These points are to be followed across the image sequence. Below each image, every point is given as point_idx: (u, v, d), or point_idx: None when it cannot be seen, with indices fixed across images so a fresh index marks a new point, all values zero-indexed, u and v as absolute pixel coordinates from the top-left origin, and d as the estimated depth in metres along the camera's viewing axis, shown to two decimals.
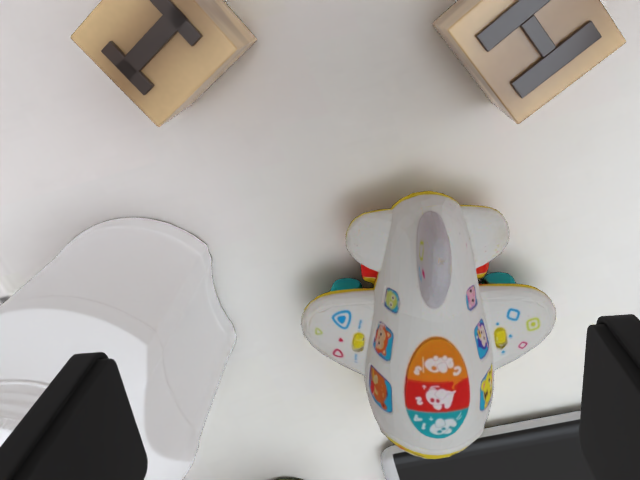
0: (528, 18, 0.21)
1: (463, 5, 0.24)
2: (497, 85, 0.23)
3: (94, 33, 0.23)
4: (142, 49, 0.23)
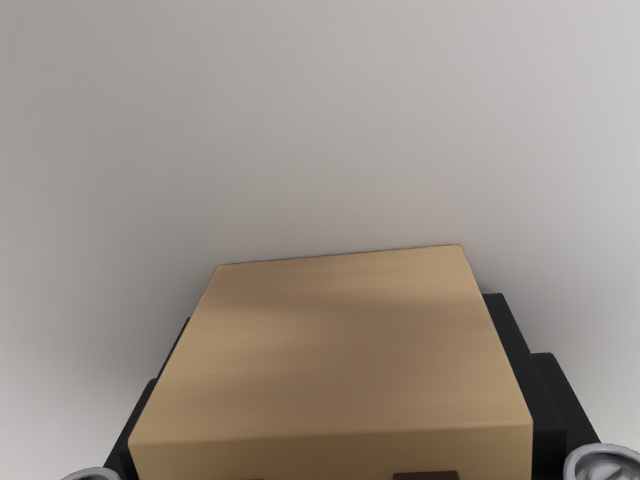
0: None
1: None
2: None
3: None
4: None
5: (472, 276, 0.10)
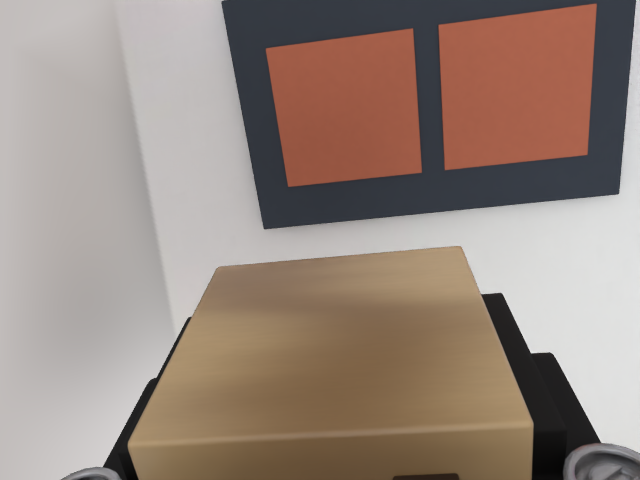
0: None
1: None
2: None
3: None
4: None
5: (473, 278, 0.10)
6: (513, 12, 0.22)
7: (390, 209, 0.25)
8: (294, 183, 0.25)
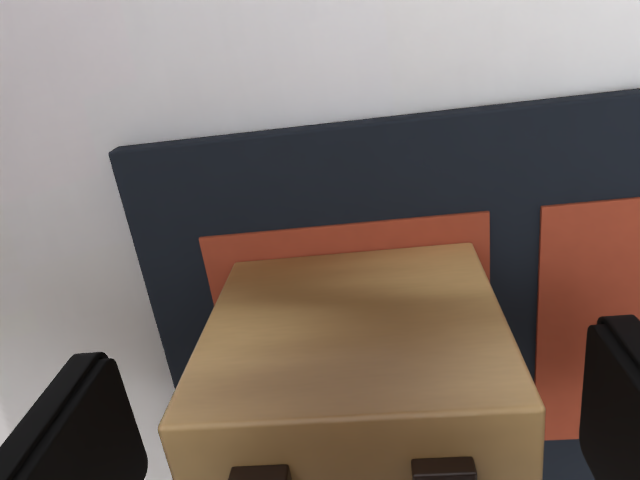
0: None
1: None
2: None
3: None
4: None
5: (484, 273, 0.10)
6: None
7: None
8: None
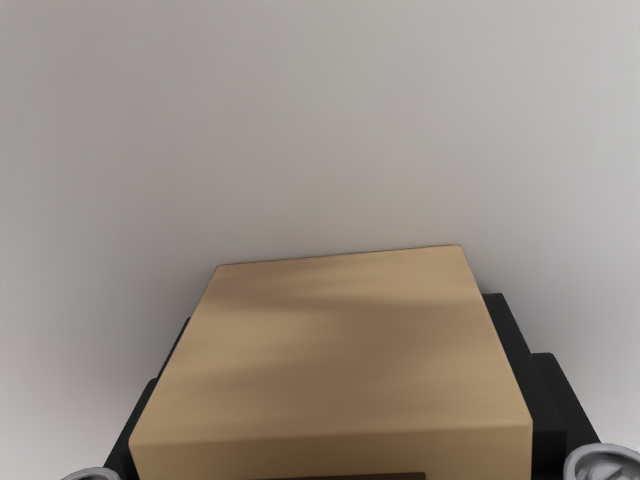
0: None
1: None
2: None
3: None
4: None
5: None
6: None
7: None
8: None
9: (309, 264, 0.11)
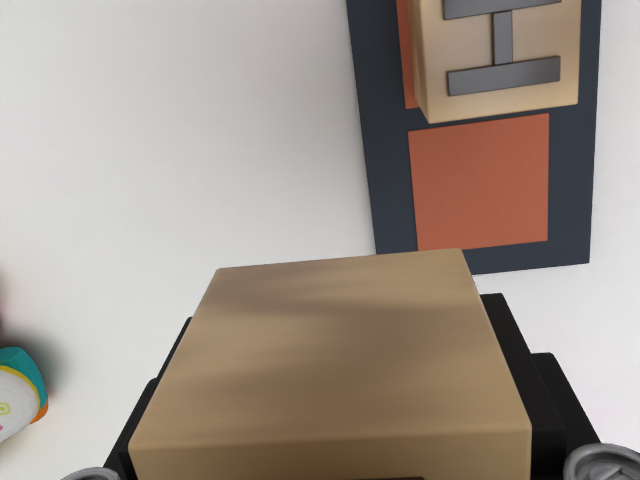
0: (503, 11, 0.17)
1: None
2: (432, 66, 0.18)
3: None
4: None
5: None
6: (549, 177, 0.25)
7: (364, 78, 0.24)
8: None
9: (308, 267, 0.11)
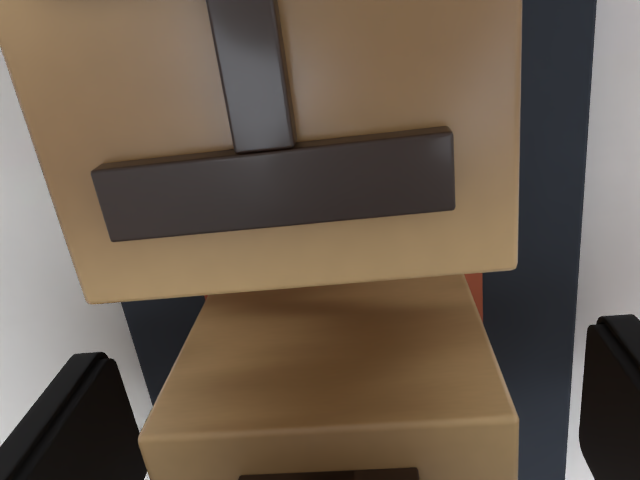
0: None
1: None
2: (55, 147, 0.06)
3: None
4: None
5: None
6: None
7: None
8: None
9: None
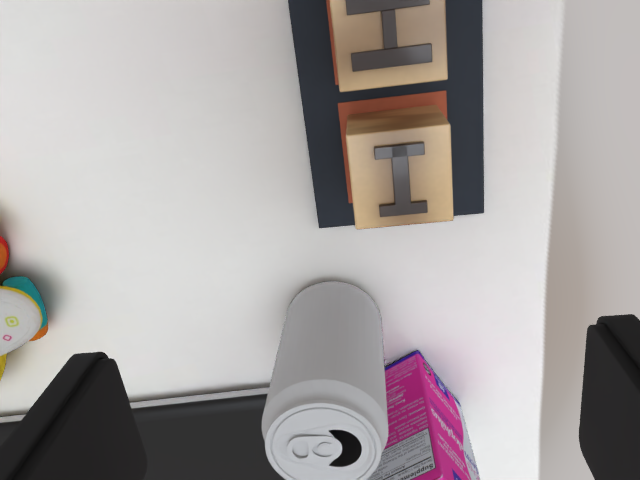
0: (389, 9, 0.24)
1: None
2: (340, 49, 0.25)
3: (366, 211, 0.28)
4: (400, 189, 0.27)
5: None
6: None
7: (303, 60, 0.30)
8: None
9: (382, 111, 0.31)
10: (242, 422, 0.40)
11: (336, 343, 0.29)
